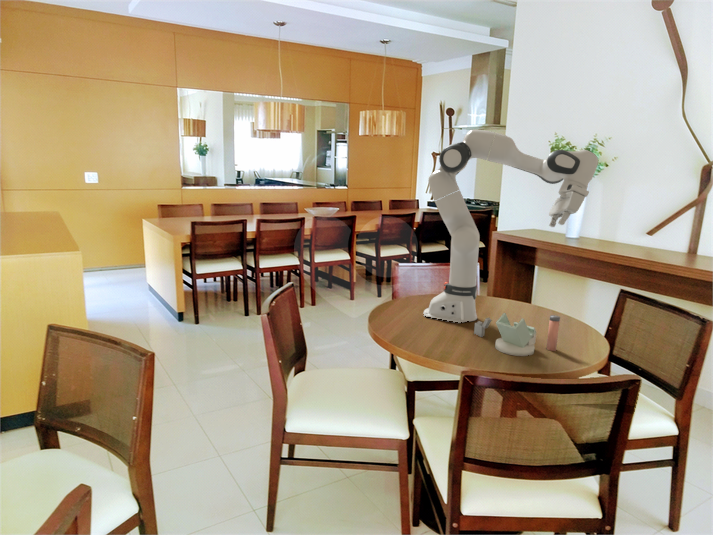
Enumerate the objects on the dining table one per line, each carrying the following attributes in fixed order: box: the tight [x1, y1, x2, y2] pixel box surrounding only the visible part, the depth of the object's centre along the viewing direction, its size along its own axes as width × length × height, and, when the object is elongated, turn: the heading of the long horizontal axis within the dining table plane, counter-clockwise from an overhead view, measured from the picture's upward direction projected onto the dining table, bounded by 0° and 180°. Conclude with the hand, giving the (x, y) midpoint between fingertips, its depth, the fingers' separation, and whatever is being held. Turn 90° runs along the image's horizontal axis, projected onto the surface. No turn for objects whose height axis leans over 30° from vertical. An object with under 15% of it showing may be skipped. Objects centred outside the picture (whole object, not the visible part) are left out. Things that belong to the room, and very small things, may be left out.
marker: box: [546, 314, 561, 352], centre depth 168 cm, size 3×3×12 cm
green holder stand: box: [494, 312, 537, 357], centre depth 167 cm, size 13×13×12 cm
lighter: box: [473, 317, 493, 338], centre depth 180 cm, size 7×2×8 cm, turn 27°
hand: (556, 225), depth 182 cm, fingers open, 8 cm apart
